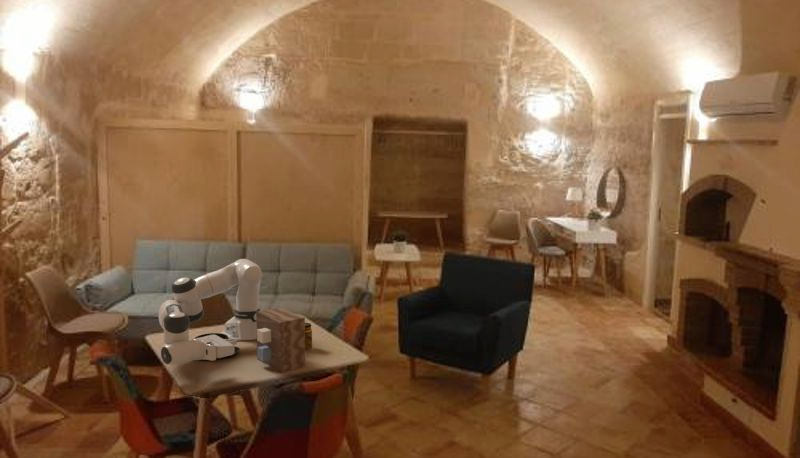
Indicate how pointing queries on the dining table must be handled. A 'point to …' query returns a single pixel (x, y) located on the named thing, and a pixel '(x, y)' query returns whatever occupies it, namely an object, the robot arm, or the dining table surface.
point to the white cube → (264, 335)
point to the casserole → (220, 337)
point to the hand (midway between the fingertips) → (235, 341)
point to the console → (283, 338)
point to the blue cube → (264, 353)
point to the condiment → (308, 337)
